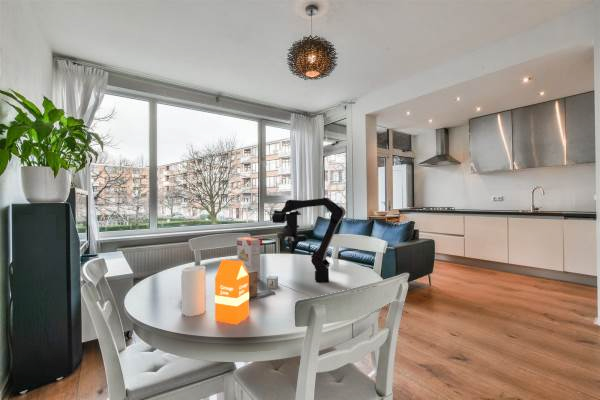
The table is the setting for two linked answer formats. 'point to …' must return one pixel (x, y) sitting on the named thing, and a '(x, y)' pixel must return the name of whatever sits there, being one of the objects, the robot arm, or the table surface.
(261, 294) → the rail
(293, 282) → the table surface
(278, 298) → the table surface
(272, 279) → the letter cube
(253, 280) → the brown wooden block
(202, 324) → the table surface
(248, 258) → the cracker box
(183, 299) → the cup
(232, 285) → the orange juice
